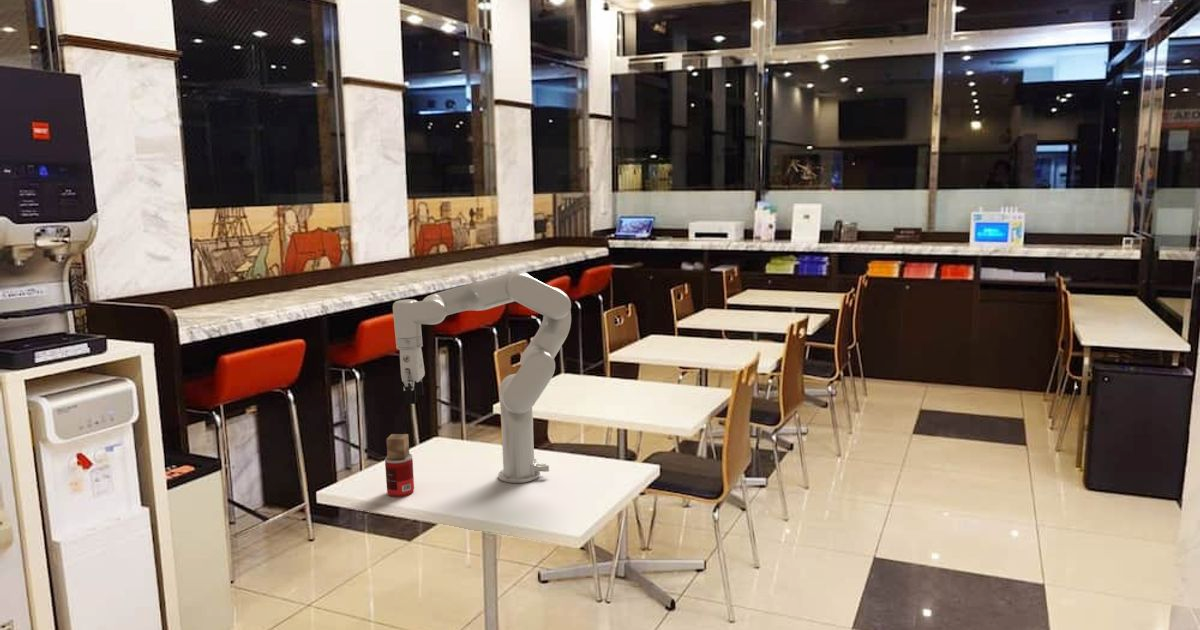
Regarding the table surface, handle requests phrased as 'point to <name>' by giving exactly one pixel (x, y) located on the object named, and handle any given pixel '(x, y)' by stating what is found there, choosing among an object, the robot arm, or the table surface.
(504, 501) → the table surface
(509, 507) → the table surface
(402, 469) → the canned food
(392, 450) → the walnut block
